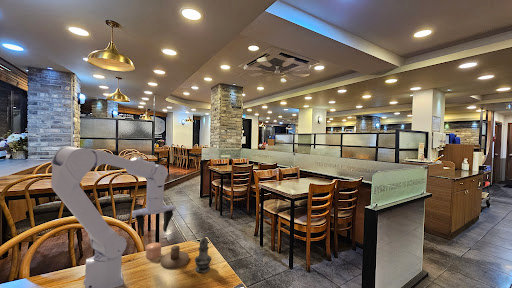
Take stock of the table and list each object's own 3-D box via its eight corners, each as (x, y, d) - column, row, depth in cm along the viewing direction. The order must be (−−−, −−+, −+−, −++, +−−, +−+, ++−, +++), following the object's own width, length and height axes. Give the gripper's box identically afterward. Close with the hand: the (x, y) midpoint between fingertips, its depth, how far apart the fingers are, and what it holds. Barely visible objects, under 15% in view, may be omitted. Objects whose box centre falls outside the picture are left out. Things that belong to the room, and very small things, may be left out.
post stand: (163, 271, 75) (164, 257, 75) (157, 257, 84) (158, 244, 83) (192, 263, 81) (193, 250, 81) (184, 251, 89) (184, 239, 89)
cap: (144, 254, 85) (145, 244, 85) (158, 250, 89) (159, 241, 89) (147, 260, 81) (147, 250, 81) (162, 256, 85) (162, 246, 84)
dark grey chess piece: (213, 264, 81) (214, 233, 80) (208, 274, 75) (209, 240, 75) (197, 263, 81) (199, 231, 81) (191, 273, 76) (193, 238, 75)
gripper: (134, 202, 73) (132, 242, 74) (178, 197, 82) (176, 232, 82) (131, 196, 79) (130, 233, 80) (173, 192, 88) (172, 226, 88)
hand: (153, 232), depth 81 cm, fingers open, 7 cm apart
